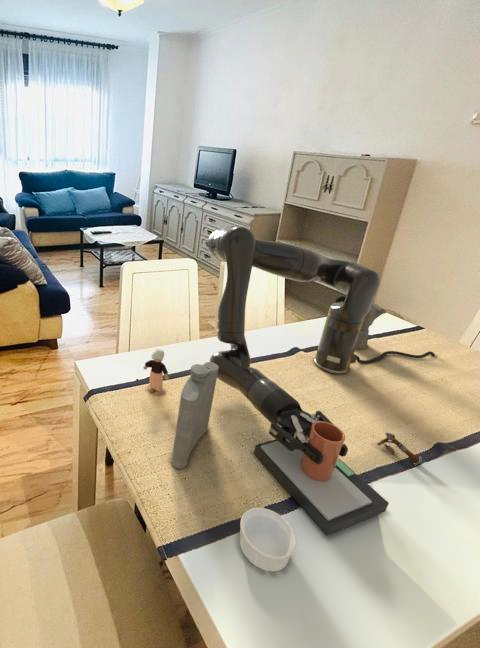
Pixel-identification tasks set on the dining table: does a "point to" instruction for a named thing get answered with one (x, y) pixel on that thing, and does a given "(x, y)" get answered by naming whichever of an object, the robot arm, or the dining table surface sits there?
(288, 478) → the scale
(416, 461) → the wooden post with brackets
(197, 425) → the hip flask
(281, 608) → the dining table surface
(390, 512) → the dining table surface
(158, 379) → the grandmother figurine
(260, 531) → the ramekin
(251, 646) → the dining table surface
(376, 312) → the coffeepot
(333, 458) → the tumbler
